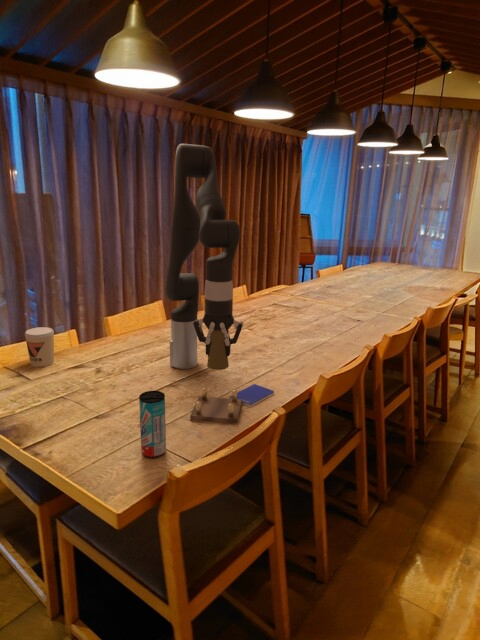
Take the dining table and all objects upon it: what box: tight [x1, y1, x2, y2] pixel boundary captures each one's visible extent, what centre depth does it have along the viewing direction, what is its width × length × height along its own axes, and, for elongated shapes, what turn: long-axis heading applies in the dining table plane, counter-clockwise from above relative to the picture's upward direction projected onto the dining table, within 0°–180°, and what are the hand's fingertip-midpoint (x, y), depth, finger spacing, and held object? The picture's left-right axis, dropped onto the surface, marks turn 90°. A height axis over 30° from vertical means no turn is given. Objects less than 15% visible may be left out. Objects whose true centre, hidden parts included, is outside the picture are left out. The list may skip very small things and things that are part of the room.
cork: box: [206, 329, 230, 371], centre depth 124 cm, size 6×6×11 cm
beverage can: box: [138, 390, 167, 459], centre depth 107 cm, size 6×6×15 cm
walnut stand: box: [189, 386, 243, 425], centre depth 129 cm, size 13×12×5 cm
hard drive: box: [228, 383, 275, 408], centre depth 140 cm, size 2×8×12 cm
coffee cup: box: [24, 326, 55, 368], centre depth 159 cm, size 9×9×12 cm
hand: (217, 356), depth 125 cm, fingers closed on cork, 4 cm apart
